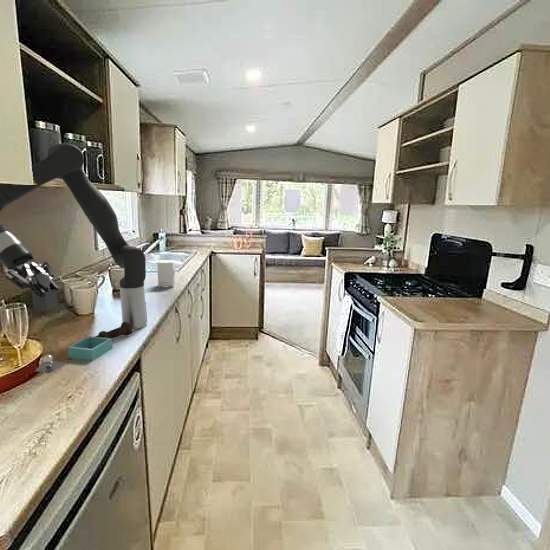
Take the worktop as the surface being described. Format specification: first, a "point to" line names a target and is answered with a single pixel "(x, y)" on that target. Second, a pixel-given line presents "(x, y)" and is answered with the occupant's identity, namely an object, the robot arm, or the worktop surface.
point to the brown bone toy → (117, 331)
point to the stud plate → (49, 365)
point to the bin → (82, 351)
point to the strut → (50, 294)
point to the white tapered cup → (166, 273)
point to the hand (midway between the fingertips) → (49, 293)
